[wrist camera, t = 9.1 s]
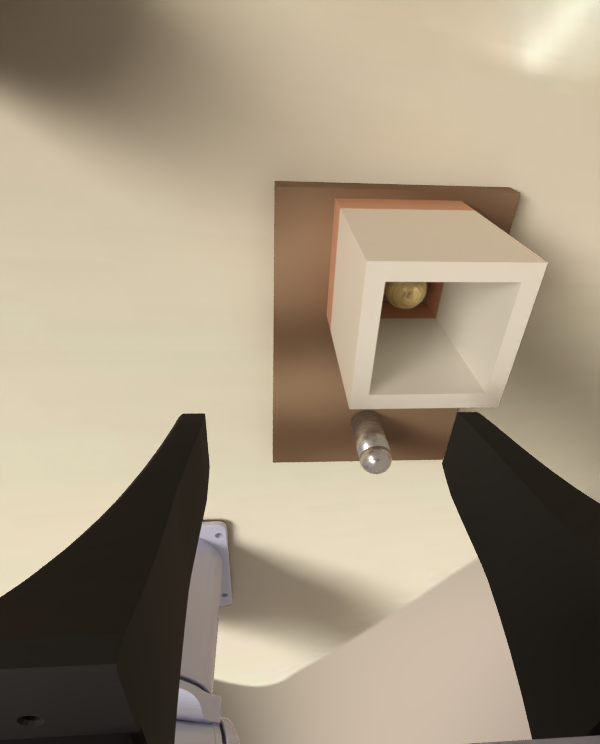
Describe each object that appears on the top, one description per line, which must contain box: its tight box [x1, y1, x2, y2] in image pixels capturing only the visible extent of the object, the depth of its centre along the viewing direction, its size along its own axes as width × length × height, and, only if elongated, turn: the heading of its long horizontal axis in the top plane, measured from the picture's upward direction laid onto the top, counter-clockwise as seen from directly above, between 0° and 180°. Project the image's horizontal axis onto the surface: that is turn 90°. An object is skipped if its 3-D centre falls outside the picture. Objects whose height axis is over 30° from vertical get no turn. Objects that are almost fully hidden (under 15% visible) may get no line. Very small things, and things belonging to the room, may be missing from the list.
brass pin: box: [384, 282, 427, 309], centre depth 19 cm, size 2×2×4 cm
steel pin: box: [351, 410, 392, 474], centre depth 24 cm, size 2×2×4 cm
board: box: [273, 181, 520, 462], centre depth 23 cm, size 15×10×1 cm, turn 178°
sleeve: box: [327, 198, 548, 409], centre depth 17 cm, size 5×5×7 cm
